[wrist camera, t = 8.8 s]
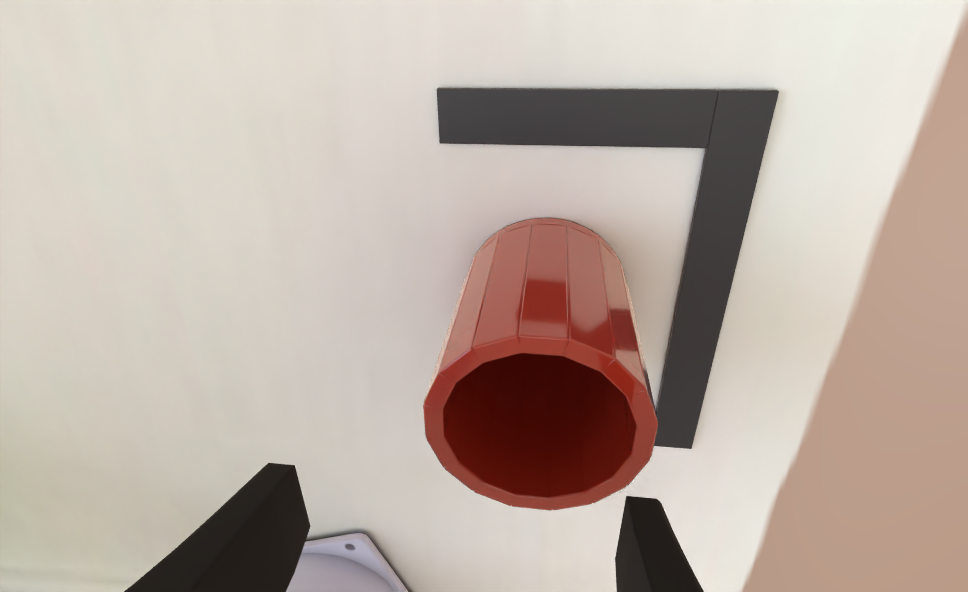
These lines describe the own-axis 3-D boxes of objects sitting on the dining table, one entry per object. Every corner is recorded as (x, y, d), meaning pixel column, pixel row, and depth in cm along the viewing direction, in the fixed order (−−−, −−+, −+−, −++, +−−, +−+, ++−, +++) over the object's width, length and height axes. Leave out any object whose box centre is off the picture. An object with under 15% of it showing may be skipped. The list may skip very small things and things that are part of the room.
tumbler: (500, 370, 21) (475, 523, 15) (441, 247, 19) (384, 371, 13) (644, 334, 19) (680, 490, 13) (599, 194, 17) (619, 307, 11)
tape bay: (456, 426, 23) (455, 430, 23) (437, 87, 16) (436, 89, 16) (690, 445, 22) (691, 449, 22) (776, 89, 15) (779, 90, 15)
